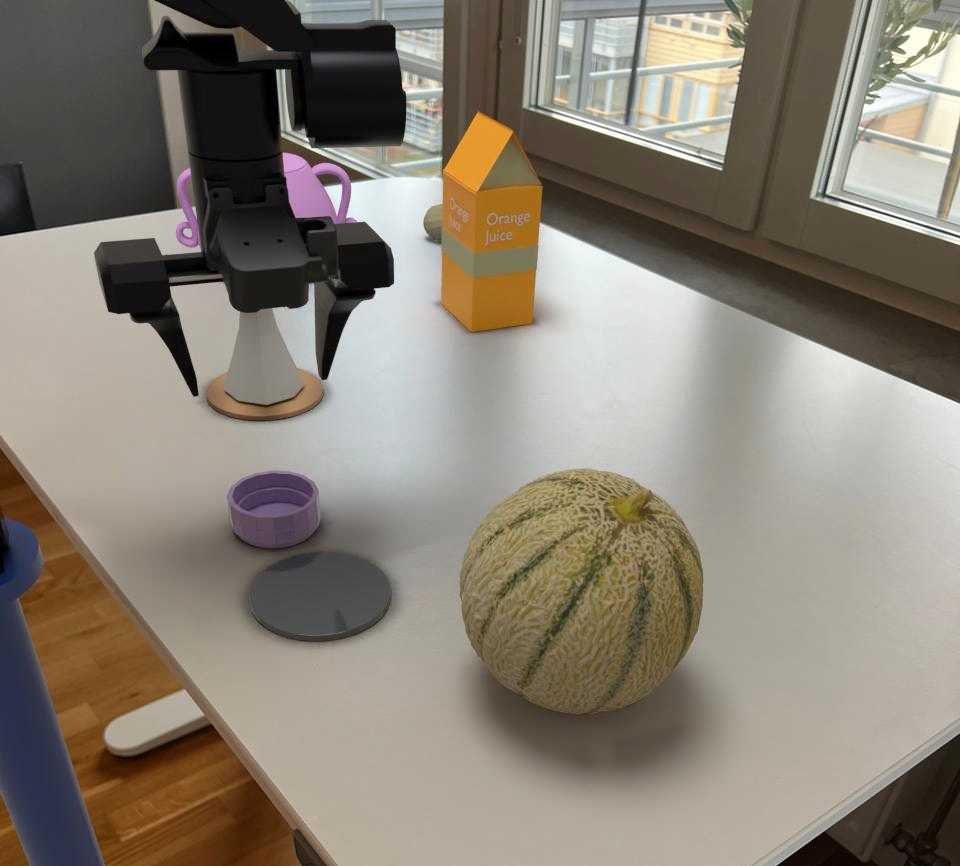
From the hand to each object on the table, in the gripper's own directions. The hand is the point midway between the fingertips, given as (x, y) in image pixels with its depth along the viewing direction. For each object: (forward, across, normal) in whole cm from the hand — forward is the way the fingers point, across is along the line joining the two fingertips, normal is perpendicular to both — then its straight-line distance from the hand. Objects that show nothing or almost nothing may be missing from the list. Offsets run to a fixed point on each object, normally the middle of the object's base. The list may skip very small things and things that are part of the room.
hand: (260, 386), depth 71 cm
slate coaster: (+11, +1, -11) cm, 16 cm away
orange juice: (+12, +32, +35) cm, 49 cm away
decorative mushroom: (+12, +39, +56) cm, 69 cm away
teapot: (+12, +13, +55) cm, 58 cm away
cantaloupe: (+12, +14, -25) cm, 31 cm away
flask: (+11, +4, +22) cm, 25 cm away
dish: (+11, 0, -1) cm, 11 cm away
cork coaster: (+11, +4, +22) cm, 25 cm away
